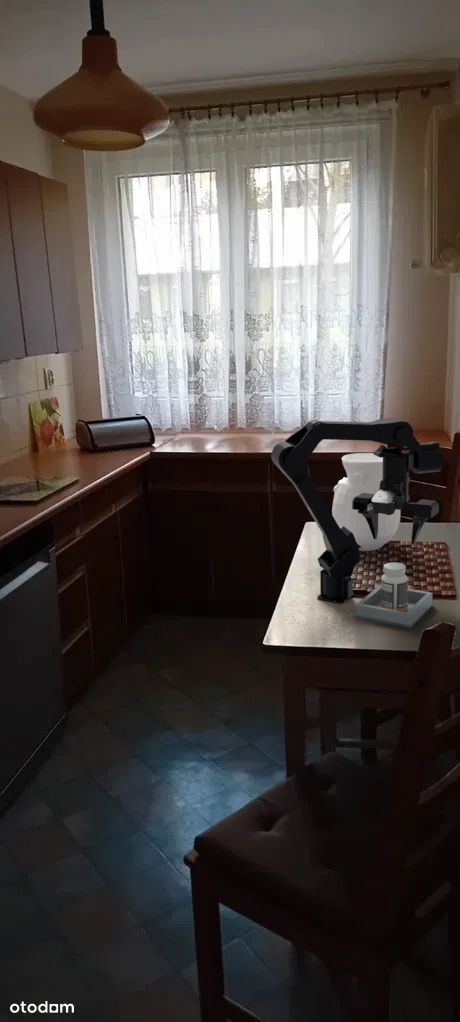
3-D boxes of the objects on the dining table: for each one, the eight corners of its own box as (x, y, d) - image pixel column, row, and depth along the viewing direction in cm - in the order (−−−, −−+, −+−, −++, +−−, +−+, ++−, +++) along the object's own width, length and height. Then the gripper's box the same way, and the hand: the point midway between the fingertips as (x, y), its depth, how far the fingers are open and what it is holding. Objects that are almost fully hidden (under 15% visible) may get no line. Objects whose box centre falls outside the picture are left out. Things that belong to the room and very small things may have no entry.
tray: (355, 617, 168) (356, 604, 168) (380, 596, 180) (380, 584, 179) (409, 628, 162) (410, 614, 161) (432, 605, 173) (432, 592, 173)
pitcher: (390, 559, 205) (391, 465, 198) (322, 552, 213) (322, 461, 206) (407, 539, 221) (409, 452, 214) (344, 533, 229) (344, 449, 222)
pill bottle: (403, 603, 174) (404, 560, 171) (410, 613, 168) (411, 569, 166) (378, 604, 174) (378, 562, 171) (383, 614, 168) (384, 570, 165)
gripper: (341, 478, 174) (341, 545, 178) (423, 486, 164) (421, 557, 168) (362, 468, 183) (361, 532, 187) (440, 475, 173) (438, 543, 177)
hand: (394, 541), depth 180 cm, fingers open, 9 cm apart
